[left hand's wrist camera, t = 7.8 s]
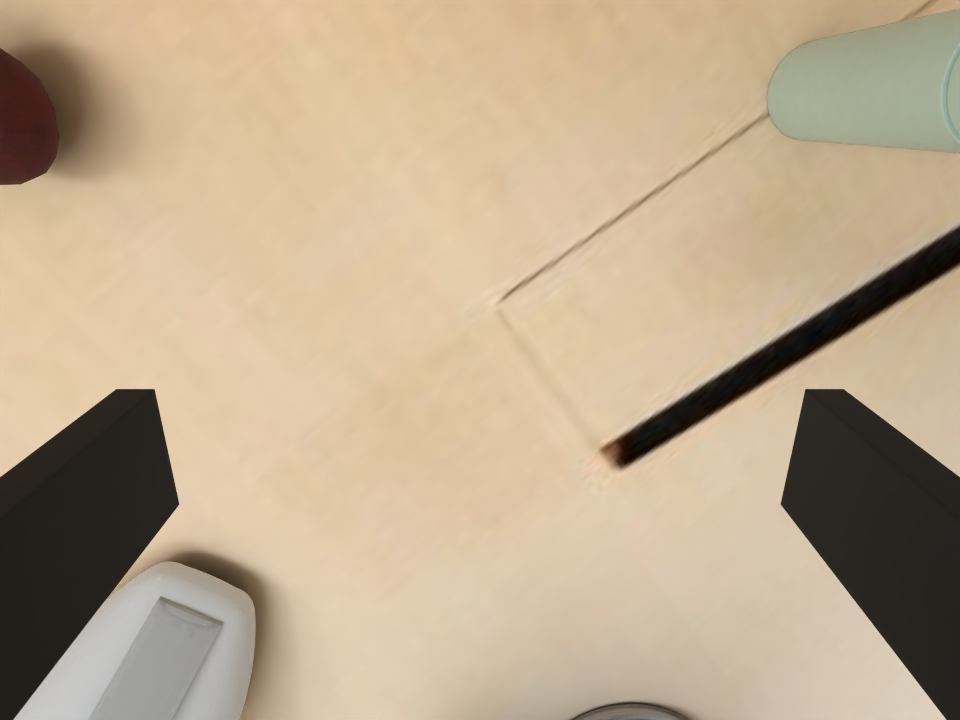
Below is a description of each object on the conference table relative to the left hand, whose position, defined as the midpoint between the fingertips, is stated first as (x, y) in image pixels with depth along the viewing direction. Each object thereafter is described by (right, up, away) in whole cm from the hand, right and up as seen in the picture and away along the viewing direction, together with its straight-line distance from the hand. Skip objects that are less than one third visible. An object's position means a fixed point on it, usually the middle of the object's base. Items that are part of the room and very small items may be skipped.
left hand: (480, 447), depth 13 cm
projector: (-27, -23, +39) cm, 53 cm away
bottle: (+19, +17, +23) cm, 35 cm away
